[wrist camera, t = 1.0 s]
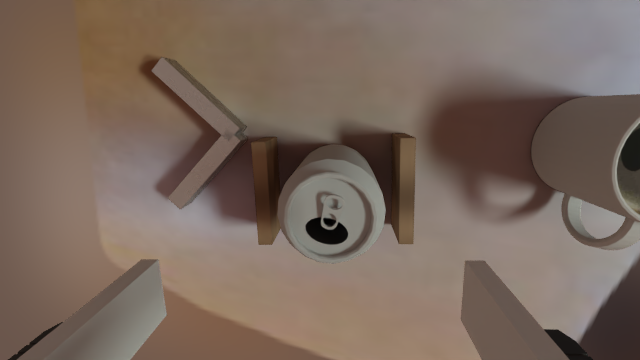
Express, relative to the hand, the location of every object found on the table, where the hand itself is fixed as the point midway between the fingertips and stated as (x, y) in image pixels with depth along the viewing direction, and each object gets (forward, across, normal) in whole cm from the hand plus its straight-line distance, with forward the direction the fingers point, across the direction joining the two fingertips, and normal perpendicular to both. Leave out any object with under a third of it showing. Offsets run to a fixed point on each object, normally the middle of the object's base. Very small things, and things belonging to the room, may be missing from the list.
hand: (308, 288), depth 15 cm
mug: (+20, +23, +2) cm, 30 cm away
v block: (+20, -12, +5) cm, 23 cm away
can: (+20, +1, 0) cm, 20 cm away
